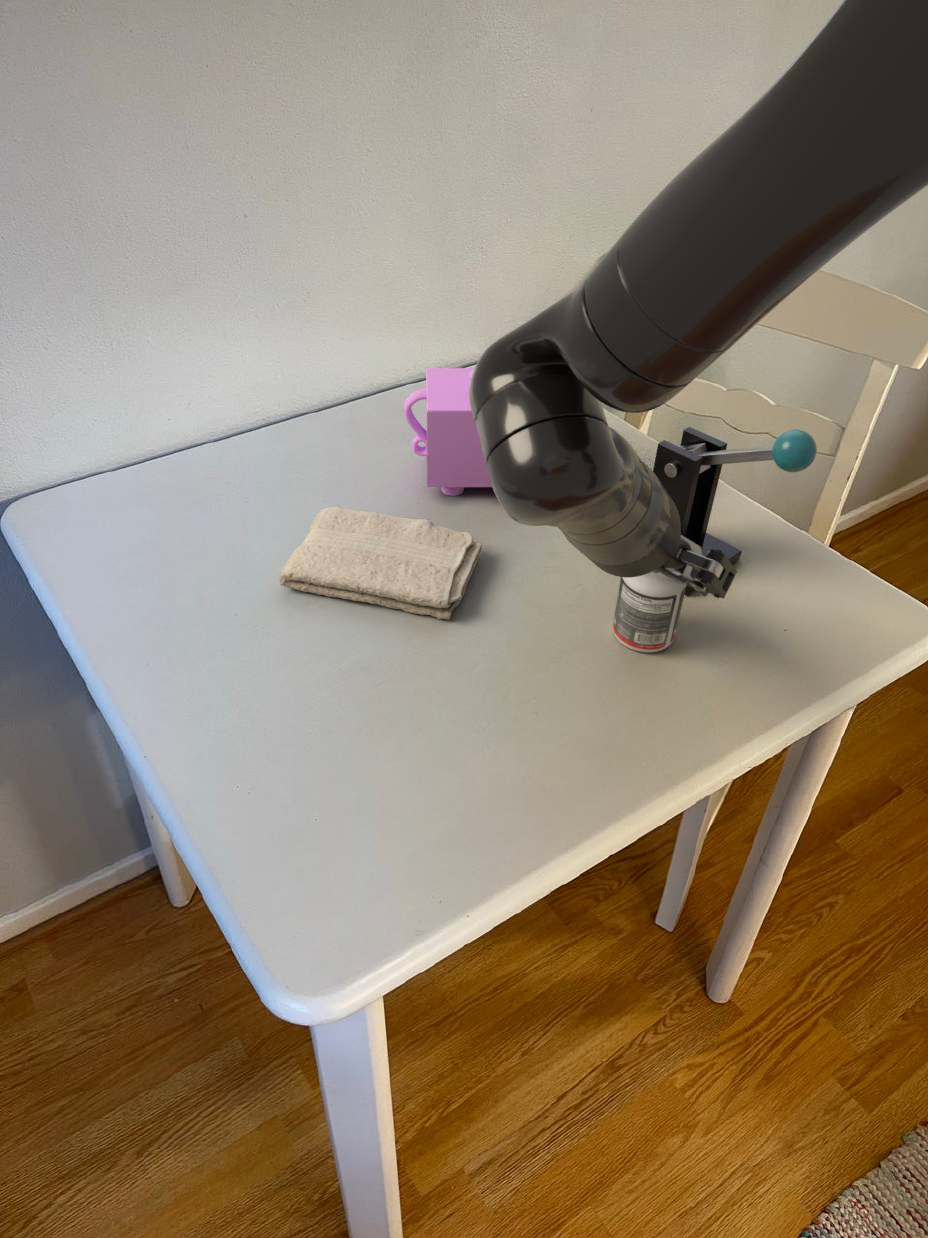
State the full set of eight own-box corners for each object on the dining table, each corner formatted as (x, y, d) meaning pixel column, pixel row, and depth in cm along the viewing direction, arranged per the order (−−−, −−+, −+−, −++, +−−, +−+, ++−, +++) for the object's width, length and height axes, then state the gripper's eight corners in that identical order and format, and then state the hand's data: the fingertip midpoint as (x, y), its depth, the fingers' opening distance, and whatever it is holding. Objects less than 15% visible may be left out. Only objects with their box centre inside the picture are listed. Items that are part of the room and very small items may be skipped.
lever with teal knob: (828, 462, 77) (820, 421, 76) (806, 477, 75) (798, 435, 74) (692, 472, 88) (684, 436, 87) (670, 485, 86) (661, 449, 85)
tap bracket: (739, 560, 92) (770, 449, 84) (687, 596, 87) (714, 483, 79) (653, 515, 98) (674, 407, 90) (600, 547, 93) (616, 436, 85)
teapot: (404, 499, 99) (402, 394, 91) (405, 452, 107) (403, 352, 99) (584, 498, 100) (597, 395, 92) (572, 452, 108) (583, 353, 100)
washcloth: (457, 625, 83) (457, 599, 81) (275, 592, 86) (271, 567, 84) (485, 552, 92) (486, 527, 90) (320, 525, 95) (317, 500, 93)
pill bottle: (637, 606, 86) (653, 519, 79) (686, 635, 83) (708, 547, 76) (598, 633, 83) (613, 545, 76) (648, 664, 80) (668, 575, 73)
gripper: (732, 500, 61) (758, 557, 76) (555, 436, 68) (611, 500, 82) (683, 599, 61) (719, 637, 76) (512, 525, 68) (575, 573, 82)
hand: (663, 566), depth 79 cm, fingers open, 8 cm apart
